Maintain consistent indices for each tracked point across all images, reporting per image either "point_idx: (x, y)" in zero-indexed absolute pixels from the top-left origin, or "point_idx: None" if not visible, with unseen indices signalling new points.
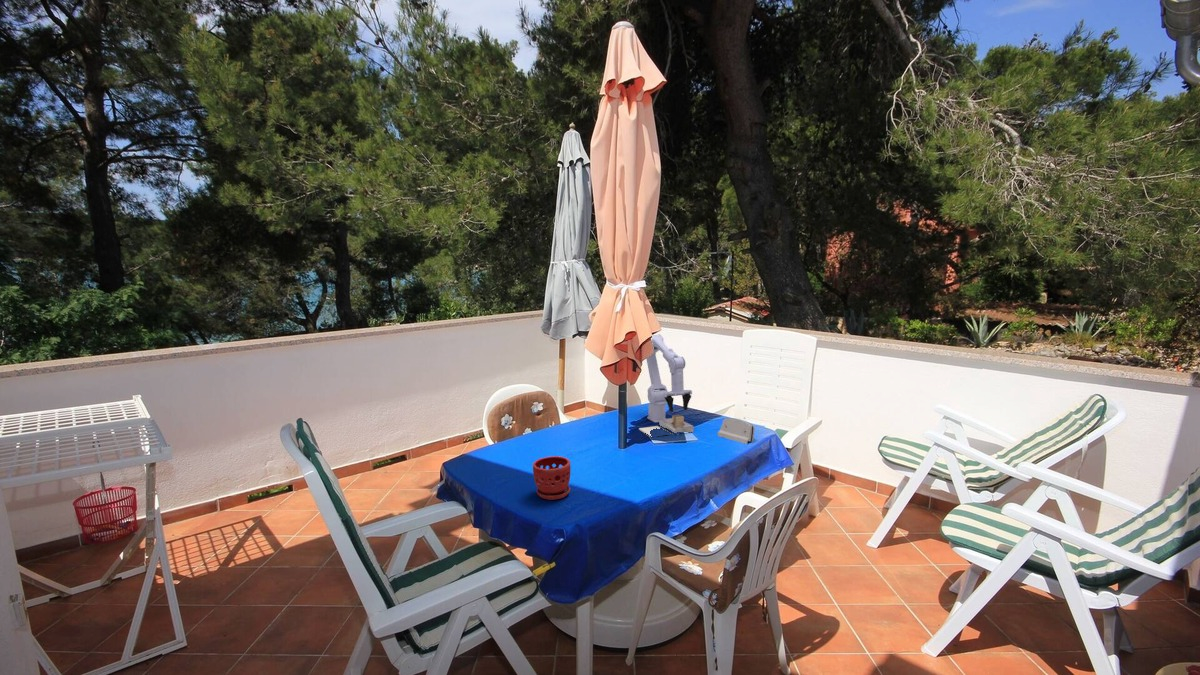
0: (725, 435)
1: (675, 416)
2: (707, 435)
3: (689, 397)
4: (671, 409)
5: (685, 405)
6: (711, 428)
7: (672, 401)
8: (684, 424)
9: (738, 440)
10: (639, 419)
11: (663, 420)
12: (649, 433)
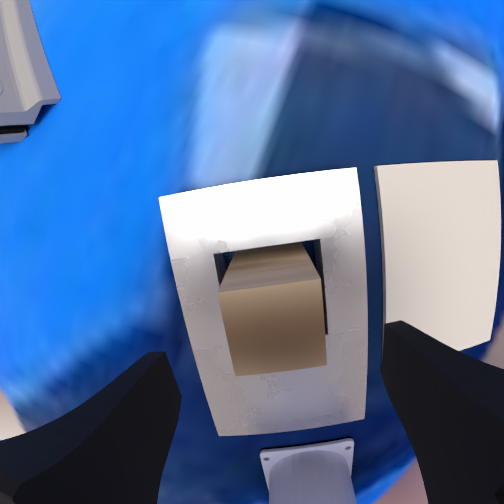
0: (36, 59)
1: (311, 323)
2: (109, 107)
3: (1, 455)
4: (420, 330)
5: (145, 400)
6: (45, 252)
7: (494, 399)
8: (217, 275)
9: (27, 11)
10: (389, 475)
11: (346, 401)
12: (491, 227)
